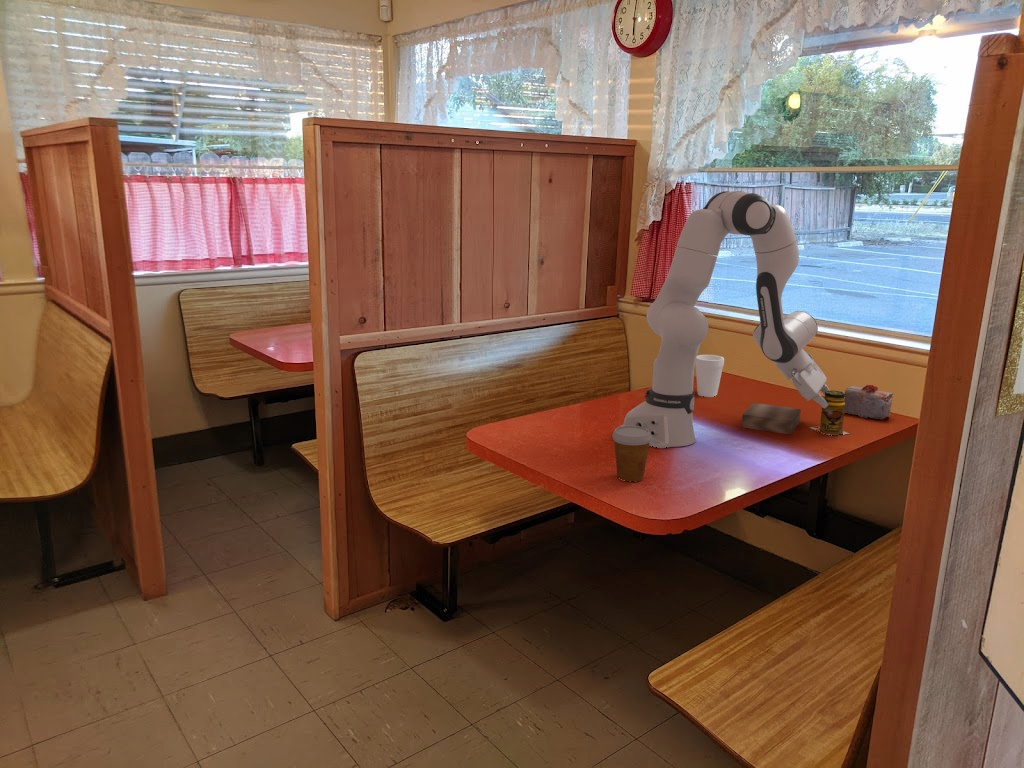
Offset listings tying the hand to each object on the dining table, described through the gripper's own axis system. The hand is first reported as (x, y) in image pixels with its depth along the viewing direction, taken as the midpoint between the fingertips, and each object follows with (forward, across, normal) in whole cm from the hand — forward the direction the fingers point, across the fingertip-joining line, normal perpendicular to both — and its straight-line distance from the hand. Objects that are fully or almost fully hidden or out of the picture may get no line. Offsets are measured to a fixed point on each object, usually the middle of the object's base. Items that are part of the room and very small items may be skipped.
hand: (829, 402), depth 217 cm
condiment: (+7, 0, +6) cm, 9 cm away
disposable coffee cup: (-20, -63, +31) cm, 73 cm away
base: (-5, -2, +17) cm, 18 cm away
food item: (+12, +22, 0) cm, 25 cm away
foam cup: (-23, +22, +35) cm, 47 cm away
